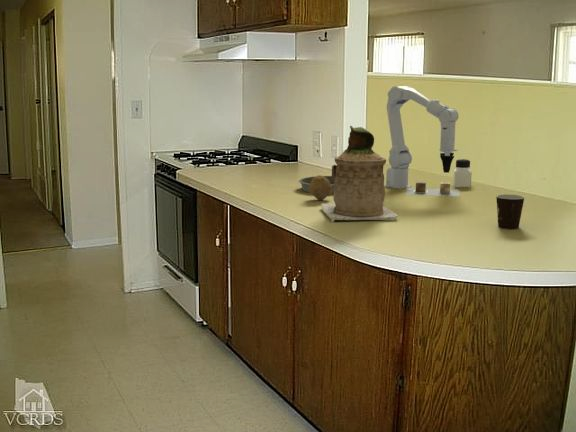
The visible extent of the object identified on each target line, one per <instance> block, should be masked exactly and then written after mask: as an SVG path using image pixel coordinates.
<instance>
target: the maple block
mask: <svg viewBox="0 0 576 432" xmlns="http://www.w3.org/2000/svg"><path fill="white" fill-rule="evenodd" d="M439 184H440V186H439V187H440V188H439V189H440V193H450V189H451V182H448V181H447V182H444V181H441V182H440V183H439Z"/></svg>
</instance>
